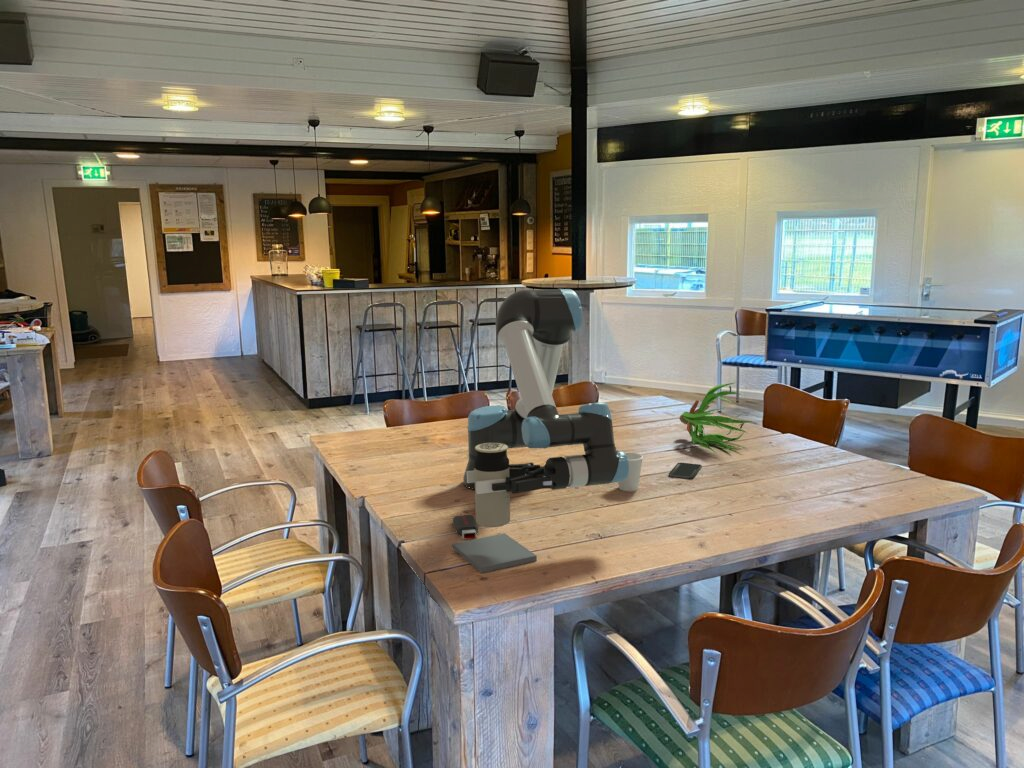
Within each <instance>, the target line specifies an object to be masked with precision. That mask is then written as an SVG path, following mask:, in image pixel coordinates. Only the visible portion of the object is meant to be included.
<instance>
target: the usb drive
mask: <svg viewBox="0 0 1024 768" xmlns="http://www.w3.org/2000/svg"><path fill="white" fill-rule="evenodd" d="M453 523H454V524H453ZM452 524H453V527H454V526H455V527H454V529H456V530H455V531H457V532H456V535H457V534H458V535H457V536H459V535H460V537H462V540H466V539H465V538H471V539H476V538H477V535H478V534H479V526H478V524H477V523H476V519H475V518H474V516H473V515H472V514H466V515H465V514H464V515H455V516H453V517H452ZM477 533H478V534H477ZM476 534H477V535H476ZM475 537H476V538H475Z"/></svg>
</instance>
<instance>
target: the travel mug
mask: <svg viewBox="0 0 1024 768" xmlns="http://www.w3.org/2000/svg"><path fill="white" fill-rule="evenodd" d="M507 448H508V446H507V445H505V444H502V443H483V444H479V445H477V446H476V447H475V450H476V452H477V456H476V458H475V460H474V473H475V490H474V503H475V505H474V506H475V522H476V524H477V525H479V526H482V527H484V528H485V527H486V528H499V527H500V528H501V527H503V526H506V525H507V524H509V523H510V522H511V498H510V497H511V495H510V494H511V491H510V492H508V491H506V490H505V491H501V492H492V493H483V494H477V492H476V481H485V480H494V479H505V482H506V477H509V464H510V459H509V457H508V454H507V455H506V450H507V451H508V449H507Z"/></svg>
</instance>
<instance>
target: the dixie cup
mask: <svg viewBox="0 0 1024 768" xmlns="http://www.w3.org/2000/svg"><path fill="white" fill-rule="evenodd" d="M623 452H624V451H623ZM624 453H625V454H626V456H627V460H628V461H629V474H628V476H627V478H626V479H625V480H624V481H621V482H617V484H618V486H617V487H618V489H619V490H620V491H622V490H623V492H636V491H638V490H639V485H640V484H639V483H640V479H641V478H640V477H641V470H642V464H643V459H644V456H643V455H642V454H641V453H637V452H631V451H625V452H624Z"/></svg>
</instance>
